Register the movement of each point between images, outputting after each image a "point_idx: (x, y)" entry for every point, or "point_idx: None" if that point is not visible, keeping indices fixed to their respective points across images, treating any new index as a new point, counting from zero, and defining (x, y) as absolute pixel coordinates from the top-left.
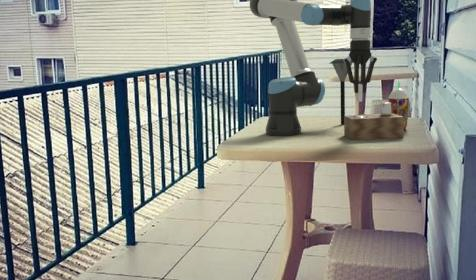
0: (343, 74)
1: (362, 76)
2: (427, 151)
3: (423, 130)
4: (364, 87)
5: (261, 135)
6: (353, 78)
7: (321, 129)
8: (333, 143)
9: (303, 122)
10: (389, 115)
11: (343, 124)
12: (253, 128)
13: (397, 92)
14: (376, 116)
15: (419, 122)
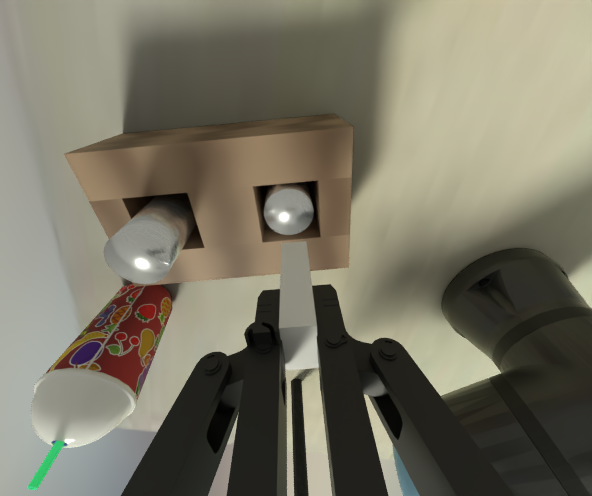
0: None
1: (277, 416)
2: None
3: (65, 272)
4: (259, 320)
5: (571, 270)
6: (390, 384)
7: (369, 331)
8: (433, 36)
9: None
10: (145, 206)
11: (295, 379)
12: None
13: (71, 408)
14: (211, 207)
15: None
